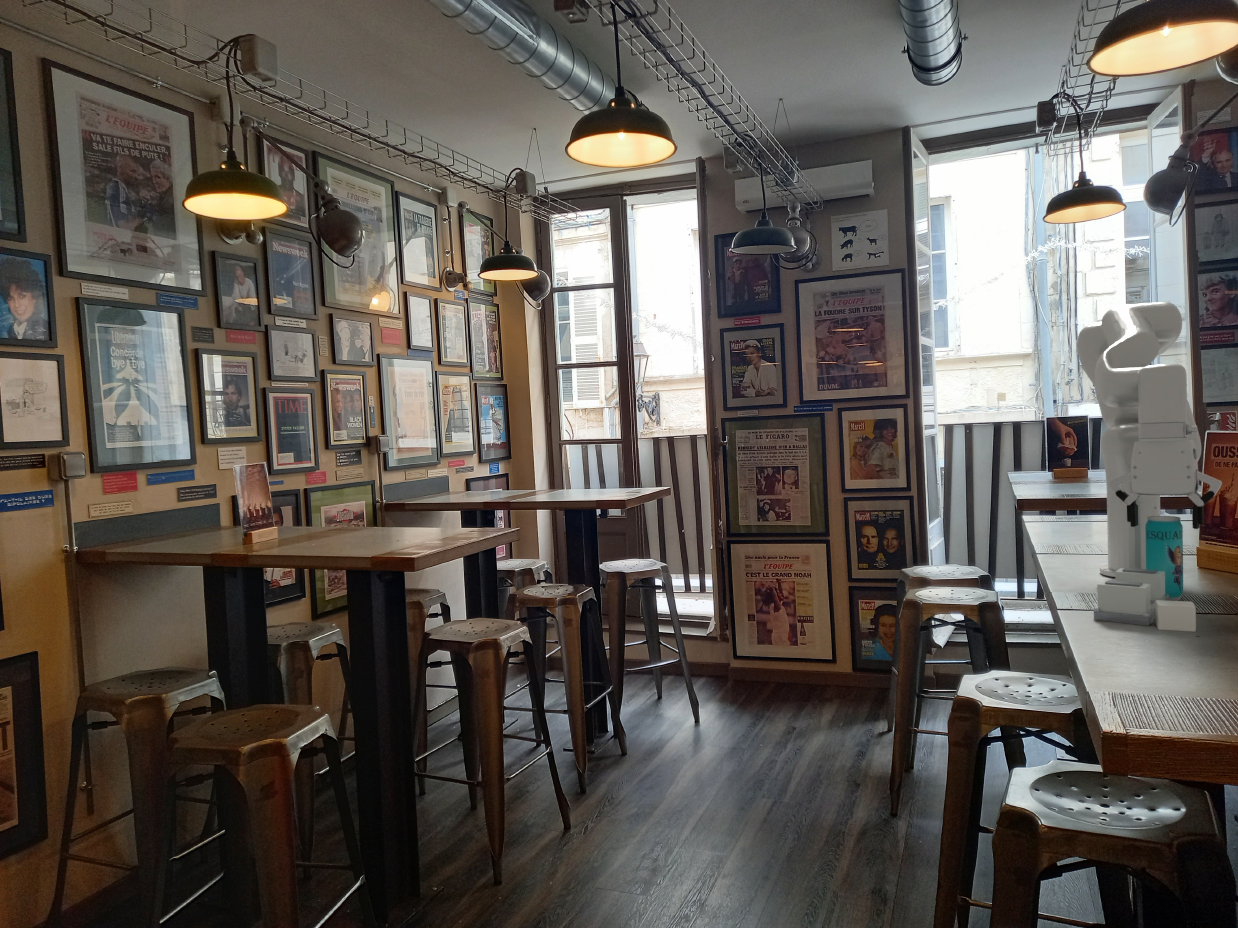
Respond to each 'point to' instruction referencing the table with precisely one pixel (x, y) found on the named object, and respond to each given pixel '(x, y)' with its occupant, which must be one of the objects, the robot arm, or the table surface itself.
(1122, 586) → the block
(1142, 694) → the table surface
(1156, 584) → the module
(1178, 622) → the block
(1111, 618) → the rail
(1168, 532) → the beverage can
